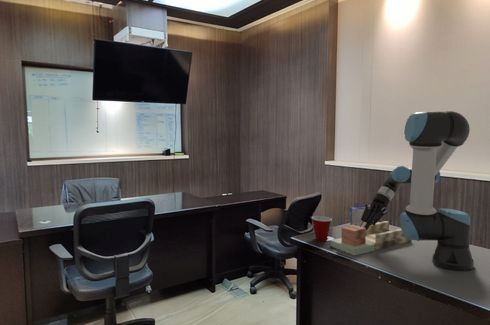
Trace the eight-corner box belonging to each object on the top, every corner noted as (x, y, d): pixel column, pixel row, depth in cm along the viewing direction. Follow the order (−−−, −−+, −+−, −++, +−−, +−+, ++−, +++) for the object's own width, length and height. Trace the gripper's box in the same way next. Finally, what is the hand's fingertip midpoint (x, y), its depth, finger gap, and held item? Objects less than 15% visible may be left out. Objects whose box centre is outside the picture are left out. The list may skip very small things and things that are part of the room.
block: (352, 239, 173) (352, 224, 173) (365, 243, 167) (365, 228, 166) (341, 242, 169) (341, 227, 168) (354, 246, 162) (354, 231, 162)
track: (385, 233, 191) (386, 220, 191) (411, 240, 177) (411, 227, 177) (349, 241, 179) (349, 228, 178) (374, 250, 165) (374, 236, 164)
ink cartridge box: (366, 226, 205) (366, 202, 204) (369, 229, 200) (369, 204, 199) (349, 226, 206) (349, 203, 204) (352, 229, 200) (352, 205, 199)
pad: (349, 241, 179) (349, 235, 179) (374, 250, 165) (374, 244, 165) (330, 245, 173) (330, 240, 173) (354, 255, 159) (354, 249, 159)
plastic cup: (335, 241, 179) (335, 219, 178) (315, 243, 178) (315, 220, 176) (327, 235, 190) (327, 214, 189) (308, 237, 188) (308, 215, 187)
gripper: (397, 203, 173) (373, 241, 166) (376, 199, 184) (353, 235, 178) (390, 194, 170) (366, 232, 164) (369, 190, 181) (346, 226, 175)
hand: (359, 234), depth 171 cm, fingers closed
